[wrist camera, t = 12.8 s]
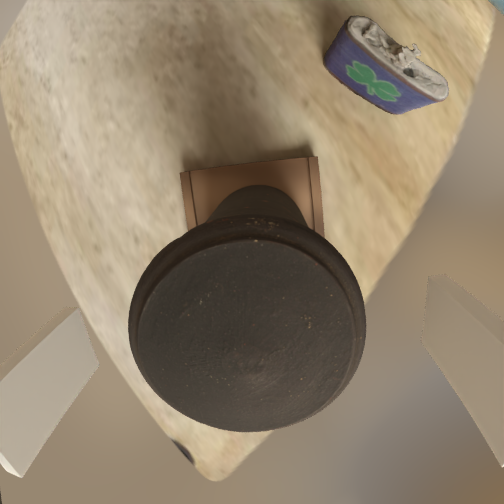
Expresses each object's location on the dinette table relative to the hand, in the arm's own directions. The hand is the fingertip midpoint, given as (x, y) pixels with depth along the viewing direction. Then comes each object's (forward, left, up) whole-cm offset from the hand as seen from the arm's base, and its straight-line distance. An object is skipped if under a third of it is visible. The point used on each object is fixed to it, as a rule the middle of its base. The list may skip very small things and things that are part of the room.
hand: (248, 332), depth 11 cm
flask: (-16, -7, -20) cm, 26 cm away
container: (0, 0, -19) cm, 19 cm away
